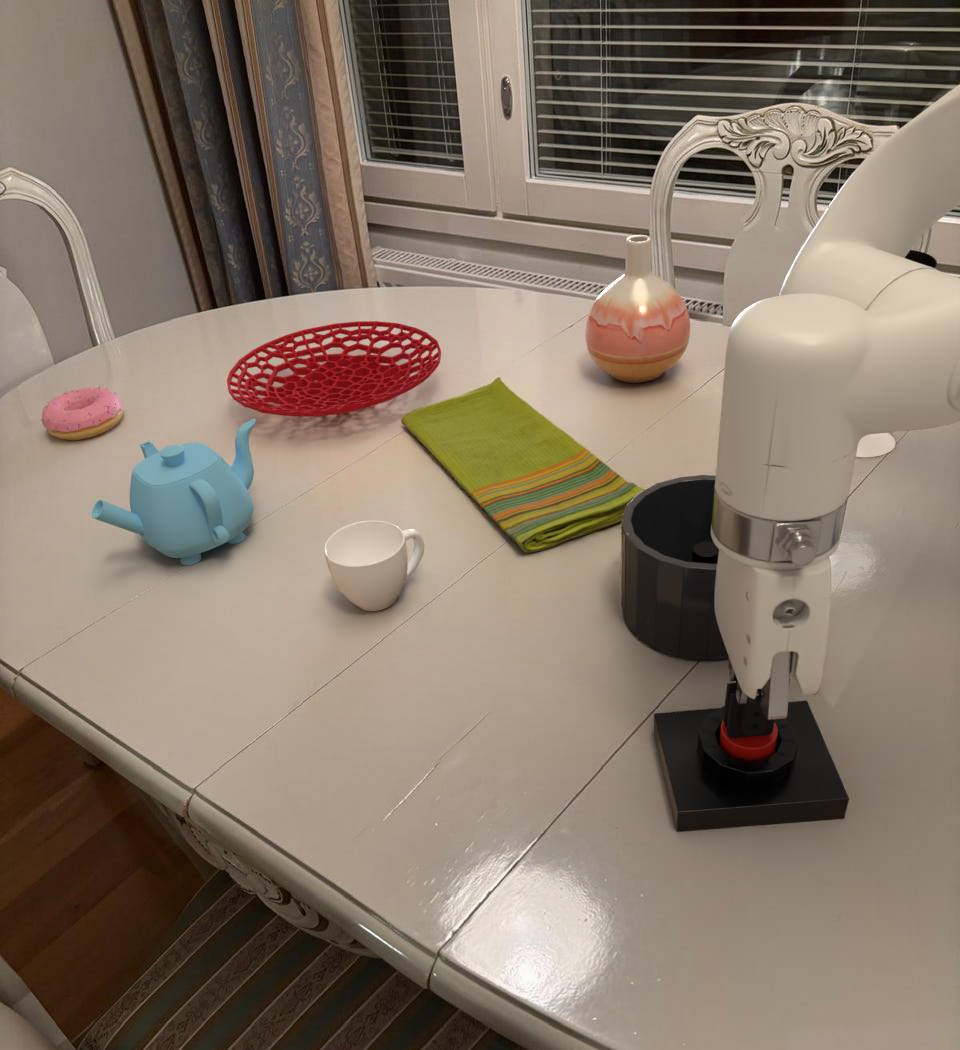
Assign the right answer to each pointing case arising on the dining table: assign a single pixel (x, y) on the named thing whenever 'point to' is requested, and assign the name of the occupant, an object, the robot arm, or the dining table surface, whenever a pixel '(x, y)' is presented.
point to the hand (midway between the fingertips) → (747, 728)
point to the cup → (372, 562)
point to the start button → (749, 745)
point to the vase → (637, 321)
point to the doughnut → (82, 413)
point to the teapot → (187, 498)
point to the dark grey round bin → (671, 570)
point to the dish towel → (521, 467)
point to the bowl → (334, 371)
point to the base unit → (746, 773)
